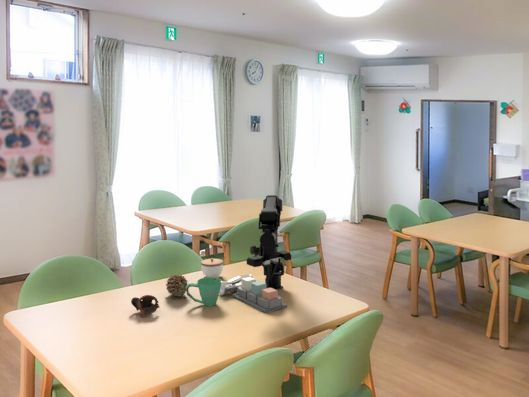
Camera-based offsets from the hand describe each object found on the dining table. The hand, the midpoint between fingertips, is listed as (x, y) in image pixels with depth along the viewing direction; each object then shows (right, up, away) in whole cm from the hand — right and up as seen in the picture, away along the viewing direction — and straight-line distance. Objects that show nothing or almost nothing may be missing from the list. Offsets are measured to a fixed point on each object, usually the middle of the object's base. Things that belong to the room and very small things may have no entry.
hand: (269, 279), depth 206 cm
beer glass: (-21, -6, +16) cm, 27 cm away
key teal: (-4, -8, +7) cm, 11 cm away
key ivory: (-9, -7, +13) cm, 17 cm away
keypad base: (-4, -11, +8) cm, 14 cm away
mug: (-27, -11, +5) cm, 30 cm away
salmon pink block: (0, -9, +2) cm, 10 cm away
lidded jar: (-27, -6, +43) cm, 51 cm away
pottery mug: (-49, -13, -3) cm, 51 cm away
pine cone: (-41, -10, +19) cm, 46 cm away
